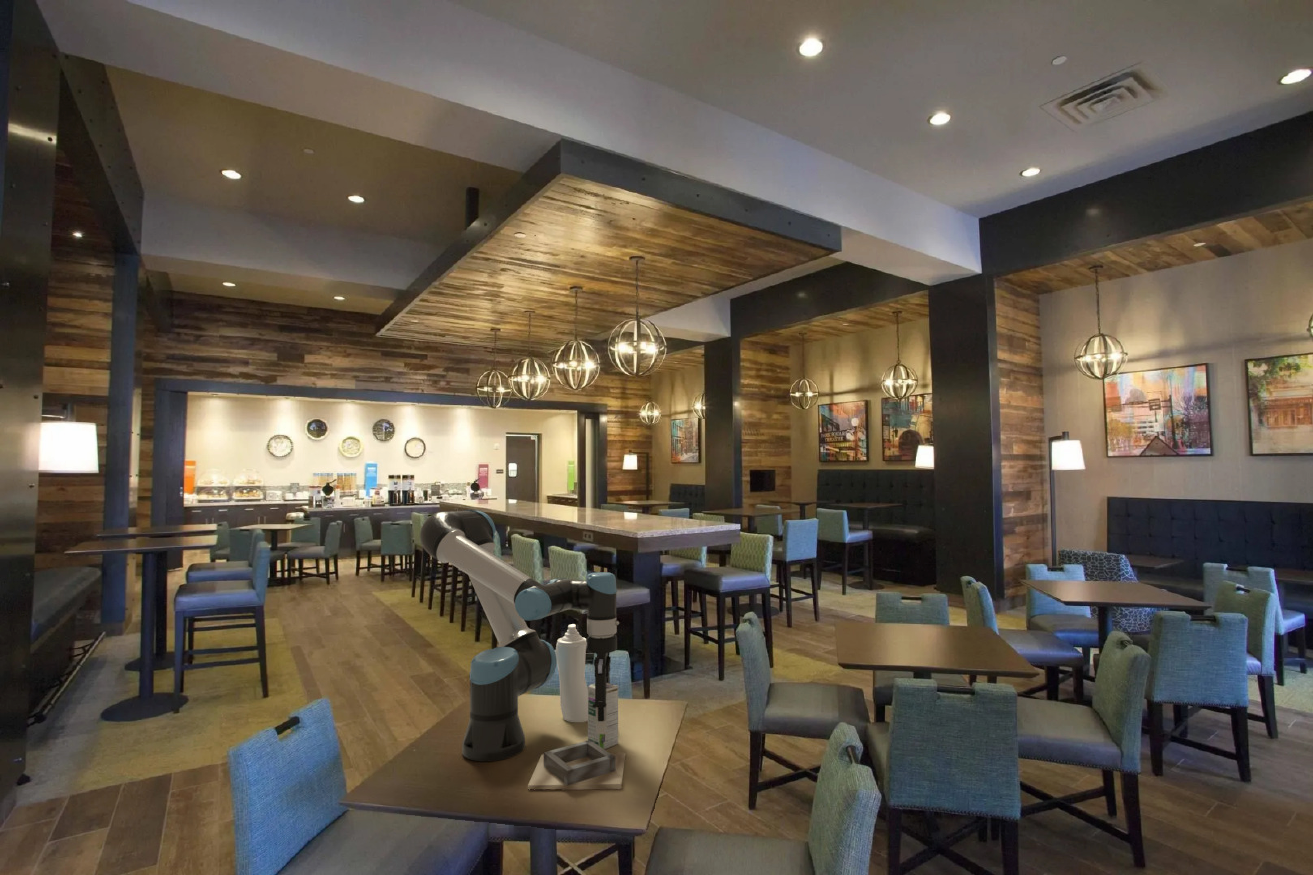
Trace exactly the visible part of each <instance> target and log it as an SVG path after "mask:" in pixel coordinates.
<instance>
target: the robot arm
mask: <svg viewBox="0 0 1313 875" xmlns="http://www.w3.org/2000/svg"><path fill="white" fill-rule="evenodd" d="M419 532H420V533H419V540H420V543H421V546H422V548H423V550H424V551H425V552H426V553H427V554H428V555H429V556H430V557H433V558H434V559H435V560H437V561H439V562H440V563H441V564H442V563H443V564H447V563H449V564H450V565H452V566H454V567H456V568H457V569H458V570H460V571H462V572H463V573H465V574H466V575H468V577H469V580H470V581H471V584H472V587H473V588H474V589H473V590H474V592H475V593H476V595H477V598H478V600H479V602H480V604H481V607H482V608H483V611H484V613H485V615H486V618H487V620H488V621H489V624H490V626H491V629H492V631H493V633H494V635H495V638H496V640H497V643H498V645H497V647H494V648H488V649H485V650H483V651H480V652H479V653H477V654H476V655H475V656H473V658H472V660H471V661H470V670H469V674H468V675H469V721H468V724H467V727H466V731H465V734H464V737H463V741H462V746H461V747H462V750H461V754H462V756H463V757H464V758H466V759H468V760H471V761H476V762H495V761H500V760H505V759H509V758H512V757H514V756H517V755H519V753H521V752H522V751H524V749H525V748H526V737H525V731H524V729H523V726H522V723H521V720H520V716H519V697H520V696H523V695H525V694H527V693H528V692H531V691H533V690H534V689H539V688H540V687H542V686H544V685H545V684H546V683H548V682H549V681H550V680H551V679H552V678H553V676H554V674H555V672H556V668H557V659H556V653H555V651H556V650H555V649H554V647H553V645H552V644H551V643H549V642H548V641H546V640H544V639H540V638H539V635H538V633H537V631H536V630H535V629H531V628H529V627H528V625H527V622H526V621H530V622H531V621H537V620H538V621H539V620H541V619H544V618H546V617H549V616H552V615H555V614H558V613H561V612H564V611H565V612H566V611H567V610H568V611H569V610H582V611H586V616H587V617H586V634H588V636H587V637H586V642H587V646H586V649H587V651H588V652H589V653H592V654H596V656H595V657H594V660H593V666H594V683H595V705H593V707H596V734H607V706H606V683H609V684H611V683H610V682H611V680H610V679H611V677H610V673H611V672H610V671H611V661H612V659H611V658H612V657H611V656H610V655H611V654H610V653H614V652H616V651H617V649H618V635H616V634H617V630H618V629H617V627H618V626H619V624H620V622H619V621H618V620H617V592H618V589H617V581H616V580H617V579H616V575H615V574H613V573H611V572H605V571H604V572H603V571H601V572H591V573H589V574H587V577H586V579H585V580H584V579H568V578H564V577H561V578H554V579H550V580H549V582H548V583H547V584H542V583H540V582H538V581H537V580H535V579H533V578H532V577H531V576H529V575H527V574H526V573H524V572H522V571H521V570H519V569H517V568H516V567H515V566H512V565H511V564H509V563H508V562H506V561H505V560H502V559H501V558H499V557H498V556H495V555H494V550H495V547H496V544H495V542H494V541H495V539H496V535H495V533H496V532H497V531H496V525H495V523H494V521H493V519H492V518H491V517H490V516H489V515H488V514H487V513H485V512H484V511H481V510H475V509H466V510H456V511H439V512H435V513H434V514H432V515H431V516H429V517H428V518H426V519H425V521H424V522H423V524H422V526H421V528H420V531H419ZM599 701H602V702H599Z"/></svg>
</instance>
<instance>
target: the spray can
mask: <svg viewBox="0 0 1313 875" xmlns="http://www.w3.org/2000/svg"><path fill="white" fill-rule="evenodd" d="M576 628H577V626H576V624H575V623H572V624H568V626H567V630H566V632H565V633H564V636H562V637H560V638H558V639H557V641H556V645H555V646H556V647H555V650H554V651H555V654H556V659H557V664H556V667H557V671H558V678H559V679H558V680H559V701H560V703H559V704H560V710H561V714H562V719H563V720H565V721H566V722H569V723H585V722H588V684H587V681H586V676H585V675H586V674H585V673H586V671H585V670H586V655H587V654H586V652H587V637H586V638H585V637H582V636H583V635H581V634H580V632H579V631H578V630H577V629H576Z"/></svg>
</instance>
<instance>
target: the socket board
mask: <svg viewBox="0 0 1313 875" xmlns="http://www.w3.org/2000/svg"><path fill="white" fill-rule="evenodd" d="M625 762H626V753H625V752H616V753H615V752H612V753H611V752H609V751H607V750H606V749H603V748H601V747H600V746H598V745H597V744H595V743H594V742H592V741H590V740H588V739H587V740H584V741H581V742H578V743H577V742H576V743H574V744H570V745H567V746H563V747H559V748H554V749H552V750H548V751H545V752H543V753H542V754H541V755H540V758H539V759H538V761H537V764H536V767H535V768H534V771H533V773H532V775H531V778H530V780H529V781H528V784H527V790H528V789H529V790H528V791H531V790H530V789H534V790H533V791H536V790H535V789H562V790H561V791H566V790H567V791H571V790H574V791H575V790H620V789H621V790H622V785H623V780H624V778H623V777H624V770H625Z"/></svg>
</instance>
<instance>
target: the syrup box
mask: <svg viewBox="0 0 1313 875" xmlns="http://www.w3.org/2000/svg"><path fill="white" fill-rule="evenodd" d="M587 688H588V721H587V741H588V740H590V741H592V742H594V743H595V744H597V745H598V746H600V747H601V748H603V749H604V750H606V749H609V748H611V747H613V746H616V745H617V744H619V685H618V684H612V683H610V684H609V683H606V706H607V734H596V707H593V705H595V682H594V683H591V684H590V685H587ZM599 702H602V701H599Z"/></svg>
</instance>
